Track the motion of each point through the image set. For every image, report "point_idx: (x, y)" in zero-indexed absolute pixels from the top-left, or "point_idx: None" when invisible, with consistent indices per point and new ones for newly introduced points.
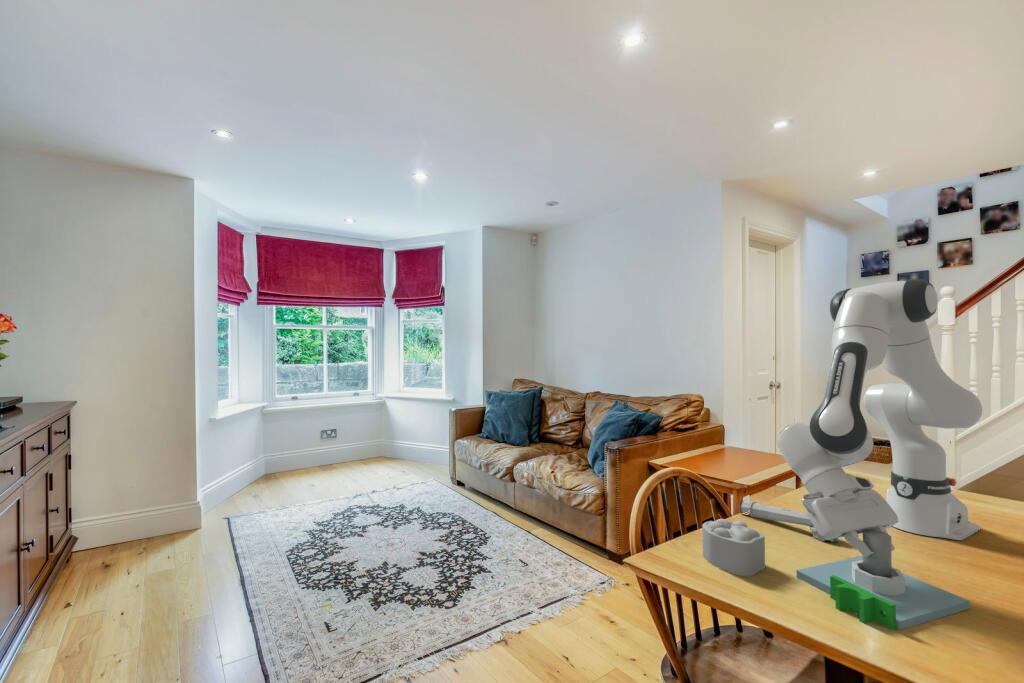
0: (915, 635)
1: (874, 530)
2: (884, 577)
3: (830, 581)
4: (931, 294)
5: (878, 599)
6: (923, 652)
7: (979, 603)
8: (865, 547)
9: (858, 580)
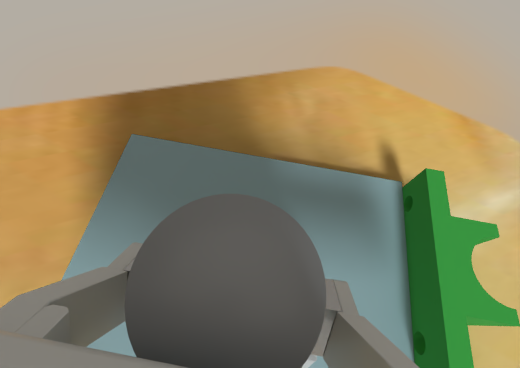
0: (376, 167)
1: (135, 344)
2: None
3: None
4: None
5: (447, 203)
6: (420, 141)
7: (86, 142)
8: (353, 307)
9: None
